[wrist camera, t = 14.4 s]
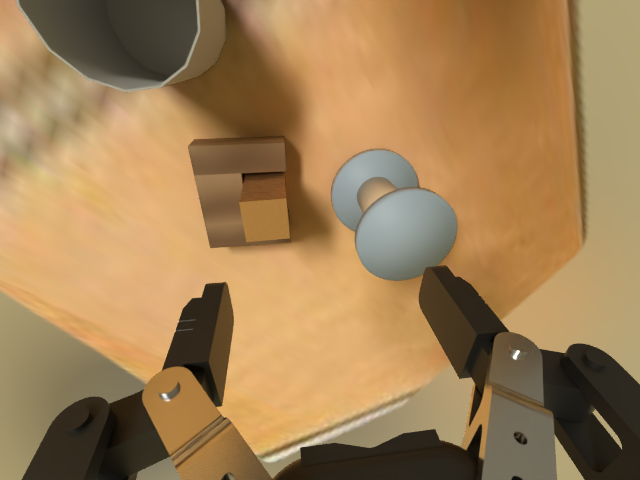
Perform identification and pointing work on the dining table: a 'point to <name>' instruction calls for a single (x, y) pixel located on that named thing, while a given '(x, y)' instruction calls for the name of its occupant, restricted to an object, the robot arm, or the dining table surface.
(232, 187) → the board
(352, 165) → the bobbin
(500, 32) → the dining table surface
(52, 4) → the cup
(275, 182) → the block
